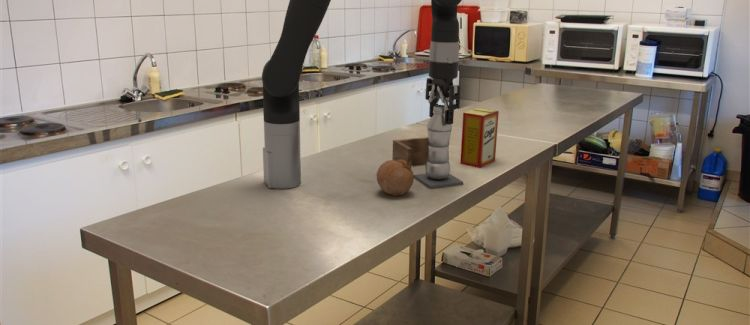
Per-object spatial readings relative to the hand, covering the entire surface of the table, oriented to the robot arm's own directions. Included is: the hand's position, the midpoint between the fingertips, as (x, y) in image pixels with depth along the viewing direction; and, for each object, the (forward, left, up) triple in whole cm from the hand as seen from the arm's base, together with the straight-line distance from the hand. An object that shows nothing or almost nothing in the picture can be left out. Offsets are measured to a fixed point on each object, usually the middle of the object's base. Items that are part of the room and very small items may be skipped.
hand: (440, 120), depth 164 cm
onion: (-15, -5, -17) cm, 24 cm away
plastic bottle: (0, 0, -16) cm, 16 cm away
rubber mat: (0, 0, -17) cm, 17 cm away
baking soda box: (+20, +12, -17) cm, 29 cm away
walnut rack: (0, +11, -17) cm, 20 cm away
